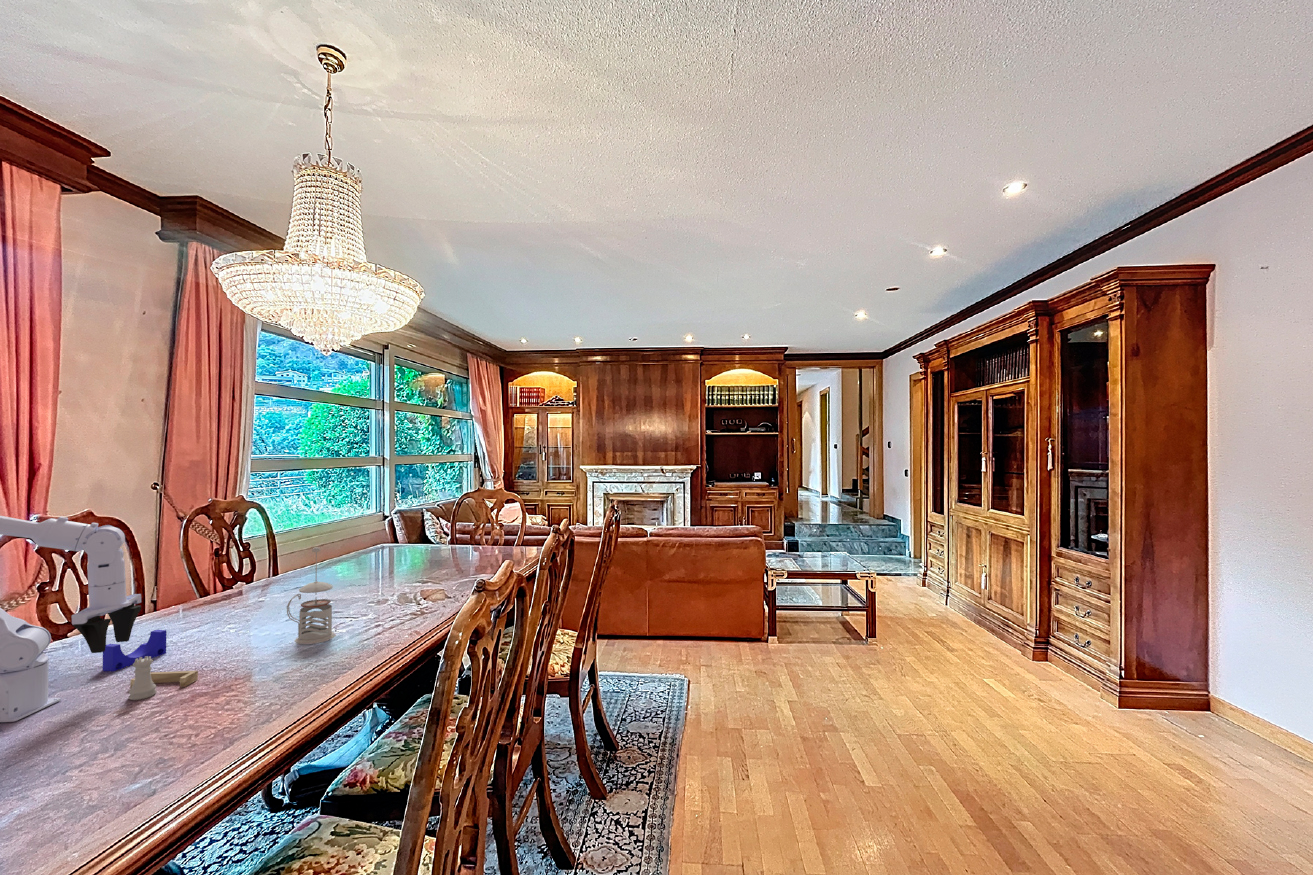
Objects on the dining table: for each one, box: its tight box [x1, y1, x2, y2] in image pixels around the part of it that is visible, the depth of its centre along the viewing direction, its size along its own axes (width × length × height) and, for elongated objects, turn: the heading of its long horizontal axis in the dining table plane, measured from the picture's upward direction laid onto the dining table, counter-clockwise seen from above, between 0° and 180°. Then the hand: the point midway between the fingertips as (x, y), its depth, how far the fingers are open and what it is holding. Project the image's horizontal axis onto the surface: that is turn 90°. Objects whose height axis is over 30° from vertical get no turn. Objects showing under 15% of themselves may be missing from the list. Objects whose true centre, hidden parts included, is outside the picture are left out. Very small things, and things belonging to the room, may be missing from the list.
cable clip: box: [102, 629, 167, 672], centre depth 138 cm, size 12×4×6 cm, turn 169°
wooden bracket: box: [129, 670, 199, 690], centre depth 124 cm, size 4×11×2 cm, turn 95°
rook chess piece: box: [128, 656, 157, 701], centre depth 118 cm, size 4×4×8 cm
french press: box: [286, 546, 337, 645], centre depth 155 cm, size 10×12×25 cm
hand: (110, 646), depth 120 cm, fingers open, 5 cm apart
